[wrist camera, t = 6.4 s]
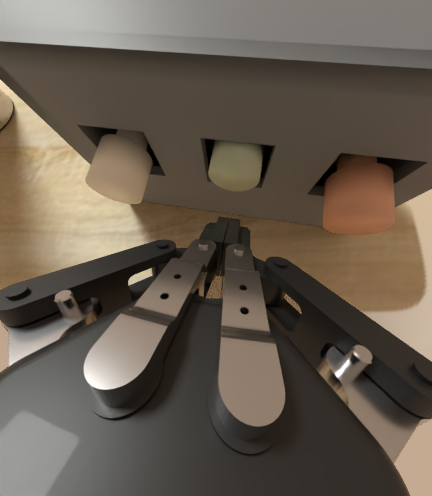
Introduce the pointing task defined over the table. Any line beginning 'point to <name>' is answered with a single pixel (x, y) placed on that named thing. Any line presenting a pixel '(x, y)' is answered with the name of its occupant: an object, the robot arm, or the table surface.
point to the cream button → (121, 166)
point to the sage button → (236, 165)
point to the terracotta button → (359, 196)
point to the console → (233, 89)
